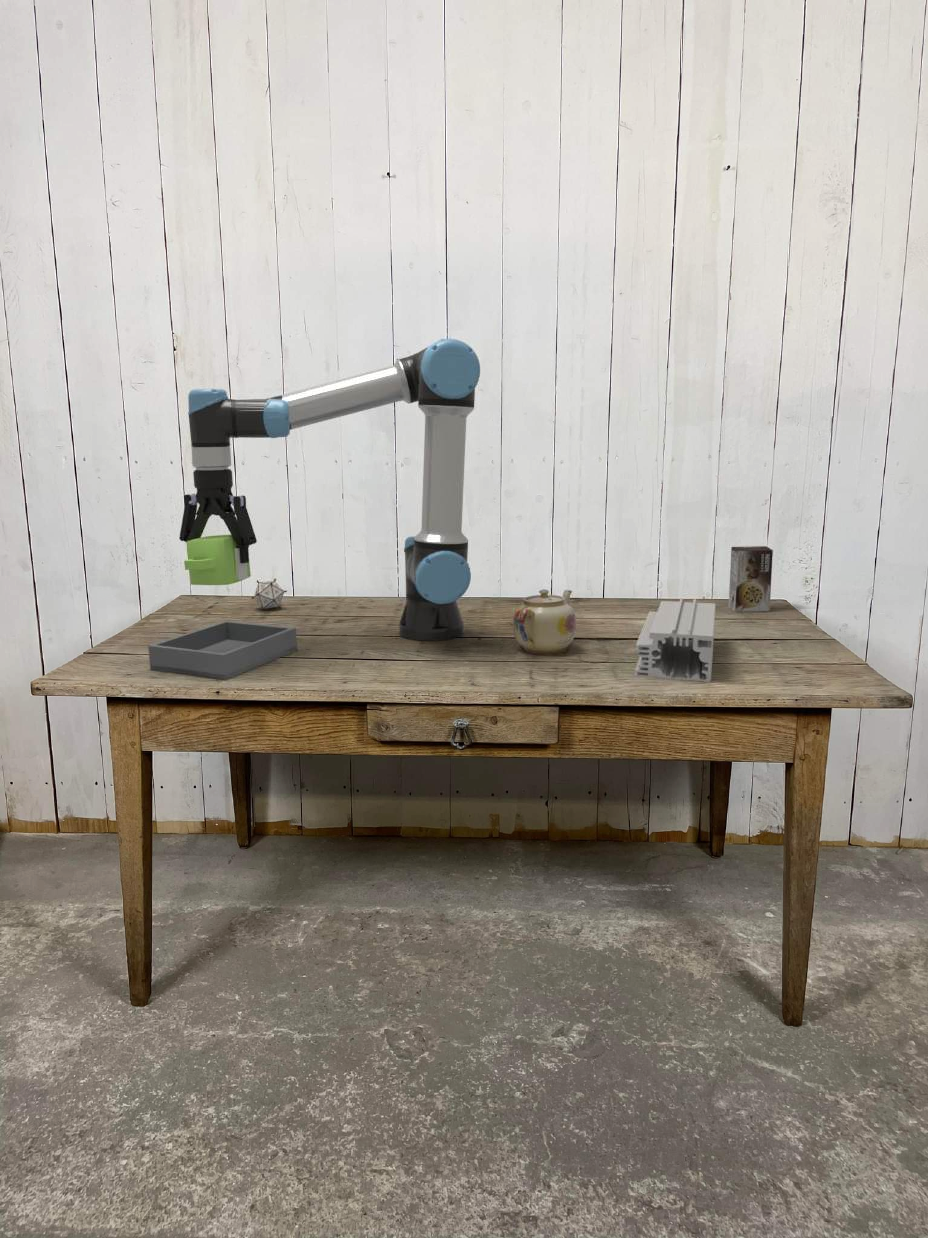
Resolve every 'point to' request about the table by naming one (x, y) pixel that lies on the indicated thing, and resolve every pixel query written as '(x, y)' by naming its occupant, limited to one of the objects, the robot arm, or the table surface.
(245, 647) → the gray tray
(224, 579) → the green handled block
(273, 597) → the game die
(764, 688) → the table surface
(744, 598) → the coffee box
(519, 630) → the teapot
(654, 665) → the aluminum extrusion profile
